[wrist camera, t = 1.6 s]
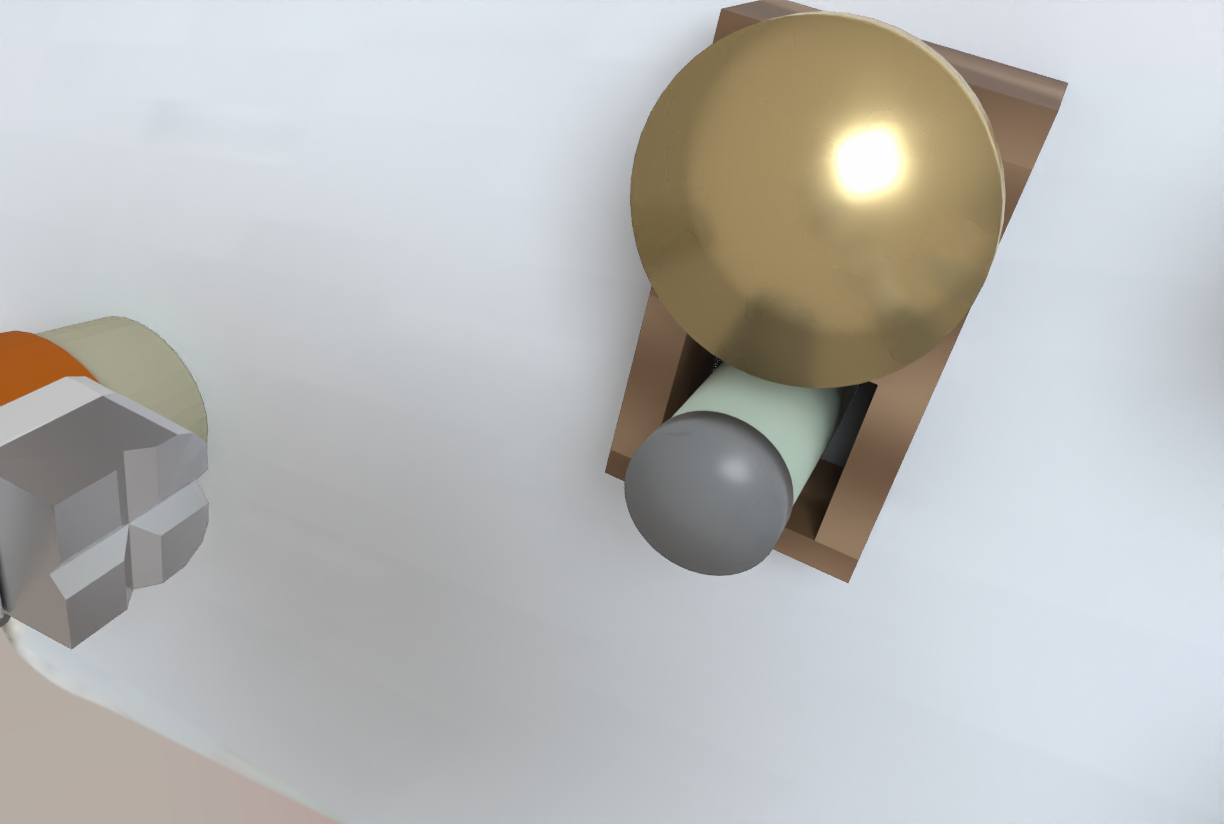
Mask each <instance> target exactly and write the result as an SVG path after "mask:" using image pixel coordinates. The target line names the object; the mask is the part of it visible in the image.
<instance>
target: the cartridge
mask: <svg viewBox="0 0 1224 824" xmlns="http://www.w3.org/2000/svg"><path fill="white" fill-rule="evenodd" d="M858 386H859V384H856V385H850V386H843V387H837V388H806V387H795V386H789V385H784V384H779V383H774V382H770V381H767V380H764V379H761V378H758V377H755V376H752V375H749V374H747V373H745V372H743V371H741V370H739V369H737V368H735V367H733V366H731V365H729V364H727V363H725V362H724V361H723V362H722V363H721V364H720V365H719V366H718V367H717V368H716V369H715V370H714V372H713V373H712V374H711V375H710V376H709V377H708V378H707V379H706V380H705V381H704V382H703V384H702V385H701V386H700V387H699V388H698V389H697V390H696V391H695V392H694V393H693V395H692V396H691V397H690V398H689V399H688V400H687V401H686V402H685V403H684V404H683V406H682V407H681V408H680V409H679V410H678V411H677V412H676V413H675V414H674V415H673V416H672V418H670V419H668V420H667V421H666V422H664V423H663V424H661V425H660V426H659V427H658V428H657V429H656V430H655V431H654V432H653V433H652V434H651V435H650V436H649V438H648V439H647V440H646V441H645V442H644V443H643V444H642V445H641V446H640V447H639V448H638V450H637V451H636V452H635V454H634V455H633V457H632V459H631V461H630V462H629V465H628V468H627V471H626V476H625V498H626V503H627V507H628V510H629V513H630V515H631V518H632V520H633V522H634V524H635V526H636V527H637V529H638V530H639V532H640V533H641V535H642V536H643V537H644V538H645V540H646V541H647V542H648V543H649V544H650V545H651V546H652V547H653V548H654V549H655V550H656V551H657V552H659V553H660V554H661V555H662V556H664V557H665V558H667V559H668V560H670V561H671V562H673V563H675V564H677V565H678V566H680V567H683V568H685V569H688V570H690V571H693V572H697V573H701V574H706V575H716V576H723V575H732V574H738V573H741V572H744V571H747V570H749V569H751V568H753V567H755V566H756V565H757V564H759V563H760V562H762V561H763V560H764V559H765V558H766V557H767V556H768V555H769V553H770V552H771V550H772V549H773V548H774V546H775V544H776V542H777V541H778V539H779V537H780V535H781V533H782V532H783V530H784V528H785V526H786V524H787V522H788V520H789V518H790V515H791V512H792V508H793V505H794V503H795V501H796V500H797V498H798V496H799V494H800V492H801V491H802V489H803V487H804V485H805V484H806V482H807V480H808V478H809V477H810V475H811V473H812V471H813V470H814V468H815V466H816V464H817V463H818V461H819V459H820V457H821V455H822V454H823V452H824V450H825V448H826V447H827V445H828V443H829V441H830V440H831V438H832V436H833V434H834V433H835V431H836V429H837V427H838V426H839V424H840V422H841V420H842V418H843V417H844V415H845V413H846V411H847V410H848V408H849V406H850V404H851V403H852V401H853V399H854V397H855V395H856V392H857V389H858Z"/></svg>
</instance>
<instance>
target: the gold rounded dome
mask: <svg viewBox="0 0 1224 824" xmlns="http://www.w3.org/2000/svg"><path fill="white" fill-rule="evenodd" d="M1005 197H1006V194H1005V179H1004V168H1003V163H1002V159H1001V154H1000V149H999V145H998V142H997V139H996V136H995V133H994V131H993V128H992V125H991V123H990V120H989V118H988V116H987V114H986V112H985V110H984V109H983V107H982V105H981V103H980V101H979V99H978V97H977V96H976V94H975V93H974V92H973V90H972V89H971V88H970V86H969V85H968V84H967V82H966V81H965V80H964V78H963V77H962V76H961V74H960V73H959V72H958V71H957V70H956V69H955V68H954V67H953V66H952V65H951V64H950V63H949V62H948V61H947V60H946V59H945V58H944V57H943V56H942V55H940V54H939V53H938V52H936V51H935V50H934V49H932V48H931V47H930V46H928V45H927V44H926V43H924V42H923V41H922V40H920V39H918V38H916V37H914V36H913V35H911V34H909V33H907V32H905V31H903V30H902V29H900V28H898V27H895V26H893V25H890V24H887V23H885V22H882V21H879V20H876V19H874V18H869V17H865V16H860V15H855V14H851V13H842V12H827V11H819V12H805V13H795V14H791V15H786V16H782V17H777V18H773V19H769V20H766V21H762V22H759V23H756V24H754V25H751V26H748V27H745V28H743V29H740V30H737V31H735V32H733V33H732V34H730V35H728V36H726V37H724V38H722V39H720V40H719V41H717V42H715V43H713V44H712V45H711V46H709V47H708V48H707V49H705V50H704V51H702V52H701V53H700V54H698V55H697V56H696V57H694V58H693V59H692V60H691V61H690V62H689V63H688V64H687V65H686V66H685V67H684V68H683V69H682V70H681V71H680V72H679V73H678V74H677V75H676V76H675V78H674V79H673V80H672V81H671V83H670V84H669V85H668V86H667V88H666V89H665V90H664V91H663V93H662V94H661V96H660V98H659V99H658V101H657V103H656V104H655V106H654V108H653V109H652V111H651V113H650V115H649V117H648V120H647V122H646V124H645V127H644V129H643V131H642V133H641V136H640V140H639V143H638V147H637V150H636V154H635V158H634V164H633V170H632V176H631V194H630V206H631V217H632V226H633V231H634V236H635V241H636V246H637V249H638V252H639V255H640V258H641V261H642V264H643V267H644V269H645V272H646V274H647V276H648V278H649V280H650V282H651V285H652V287H653V289H654V290H655V292H656V293H657V295H658V297H659V298H660V300H661V302H662V303H663V305H664V306H665V308H666V309H667V310H668V312H669V313H670V314H671V315H672V317H673V318H674V319H675V320H676V322H677V323H678V324H679V325H680V326H681V327H682V328H683V329H684V330H685V331H686V332H687V333H688V334H689V335H690V336H691V337H692V338H693V339H694V340H695V341H696V342H697V343H699V344H700V345H701V346H702V347H704V348H705V349H706V350H707V351H709V352H710V353H711V354H713V355H714V356H716V357H718V358H719V359H721V360H722V361H724V362H725V363H727V364H729V365H731V366H733V367H735V368H737V369H739V370H741V371H743V372H745V373H747V374H749V375H752V376H755V377H758V378H761V379H764V380H767V381H770V382H774V383H779V384H784V385H789V386H795V387H806V388H837V387H843V386H850V385H856V384H861V383H864V382H868V381H871V380H875V379H878V378H882V377H884V376H886V375H889V374H891V373H893V372H895V371H898V370H900V369H902V368H904V367H906V366H907V365H909V364H911V363H912V362H914V361H916V360H917V359H919V358H921V357H922V356H924V355H925V354H926V353H928V352H929V351H930V350H931V349H933V348H934V347H935V346H936V345H938V344H939V343H940V342H941V341H942V340H943V339H944V338H945V337H946V336H947V335H948V334H949V333H950V332H951V331H952V330H953V329H954V328H955V327H956V326H957V325H958V324H959V322H960V321H961V320H962V318H963V317H964V315H965V314H966V313H967V311H968V310H969V309H970V307H971V306H972V304H973V303H974V301H975V299H976V297H977V295H978V294H979V292H980V290H981V288H982V286H983V284H984V282H985V280H986V278H987V275H988V272H989V270H990V267H991V264H992V262H993V259H994V256H995V253H996V251H997V248H998V245H999V241H1000V236H1001V231H1002V227H1003V222H1004V211H1005Z"/></svg>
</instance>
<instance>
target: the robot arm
mask: <svg viewBox="0 0 1224 824" xmlns="http://www.w3.org/2000/svg"><path fill="white" fill-rule="evenodd" d="M207 469H208V461H207V446H206V442H205V441H204V440H202V439H201V438H200V437H198V436H197V435H196V434H194V433H193V432H191V431H189V430H187V429H185V428H183V427H181V426H180V425H178V424H176V423H174V422H172V421H170V420H168V419H166V418H165V417H163V416H161V415H159V414H157V413H155V412H153V411H151V410H150V409H148V408H146V407H144V406H142V405H140V404H138V403H136V402H135V401H133V400H131V399H129V398H127V397H125V396H123V395H120V394H118V393H116V392H114V391H112V390H110V389H108V388H106V387H105V386H103V385H101V384H99V383H97V382H95V381H93V380H91V379H90V378H88V377H86V376H79V377H64V378H62V379H60V380H58V381H55V382H53V383H51V384H49V385H47V386H44V387H42V388H40V389H38V390H36V391H33V392H31V393H29V394H27V395H25V396H23V397H20V398H18V399H16V400H14V401H12V402H9V403H7V404H5V405H3V406H1V407H0V618H2V617H3V616H4V615H3V612H4V613H6V614H8V615H9V616H11V617H13V618H15V619H17V620H19V621H20V622H22V623H24V624H26V625H28V626H30V627H31V628H33V629H35V630H37V631H39V632H41V633H42V634H44V635H46V636H48V637H50V638H52V639H53V640H55V641H57V642H59V643H61V644H63V645H64V646H66V647H68V648H70V649H73V648H74V647H75V646H77V645H78V644H80V643H81V642H82V641H84V640H85V639H87V638H88V637H89V636H91V635H92V634H93V633H95V632H96V631H98V630H99V629H100V628H102V627H103V626H104V625H106V624H107V623H109V622H110V621H111V620H113V619H114V618H116V617H117V616H118V615H120V614H121V613H122V612H124V611H125V610H127V608H128V605H129V601H130V598H131V595H132V591H133V589H137V588H142V587H147V586H152V585H156V584H161V583H163V582H165V581H166V580H167V579H169V578H170V577H171V576H173V575H174V574H175V573H177V572H178V571H179V570H180V569H182V568H183V567H184V566H185V565H186V564H187V562H188V561H189V560H190V558H191V557H192V556H193V554H194V553H195V551H196V550H197V549H198V547H199V546H200V544H201V543H202V541H203V538H204V534H205V531H206V528H207V525H208V501H207V499H206V497H205V495H204V493H203V491H202V489H201V488H200V486H199V484H198V482H197V479H198V478H199V477H200V476H201V475H202V474H203V473H204V472H205V471H206V470H207Z"/></svg>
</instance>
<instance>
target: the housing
mask: <svg viewBox="0 0 1224 824" xmlns="http://www.w3.org/2000/svg"><path fill="white" fill-rule="evenodd" d="M819 11H822V10H818V9H815V8H811V7H808V6H805V5H801V4H798V3H794V2H791V1H788V0H759V1H754V2H750V3H745V4H741V5H736V6H732V7H727V8H723V9H721V12H720V16H719V20H718V24H717V28H716V32H715V36H714V40H713V43H715V42H717V41H719V40H720V39H722V38H724V37H726V36H728V35H730V34H732V33H733V32H735V31H737V30H740V29H743V28H745V27H748V26H751V25H754V24H756V23H759V22H762V21H766V20H769V19H773V18H777V17H782V16H786V15H791V14H795V13H805V12H819ZM922 41H923V42H924V43H926V44H927V45H928V46H930V47H931V48H932V49H934V50H935V51H936V52H938V53H939V54H940V55H942V56H943V57H944V58H945V59H946V60H947V61H948V62H949V63H950V64H951V65H952V66H953V67H954V68H955V69H956V70H957V71H958V72H959V73H960V74H961V76H962V77H963V78H964V80H965V81H966V82H967V84H968V85H969V86H970V88H971V89H972V90H973V92H974V93H975V94H976V96H977V97H978V99H979V101H980V103H981V105H982V107H983V109H984V110H985V112H986V114H987V116H988V118H989V120H990V123H991V125H992V128H993V131H994V133H995V136H996V139H997V142H998V145H999V149H1000V154H1001V159H1002V163H1003V168H1004V179H1005V194H1006V197H1005V211H1004V222H1003V227H1002V231H1001V236H1000V241H1001V239H1002V236H1003V234H1004V232H1005V230H1006V227H1007V225H1008V223H1009V221H1010V218H1011V216H1012V214H1013V212H1014V209H1015V207H1016V205H1017V203H1018V200H1019V198H1020V196H1021V194H1022V191H1023V189H1024V187H1025V185H1026V182H1027V180H1028V178H1029V176H1030V173H1031V171H1032V169H1033V167H1034V164H1035V162H1036V160H1037V158H1038V155H1039V153H1040V151H1041V149H1042V146H1043V144H1044V142H1045V140H1046V137H1047V135H1048V133H1049V131H1050V128H1051V126H1052V124H1053V122H1054V119H1055V117H1056V115H1057V113H1058V110H1059V107H1060V105H1061V102H1062V99H1063V96H1064V93H1065V90H1066V88H1067V85H1068V83H1066V82H1063V81H1060V80H1056V79H1053V78H1049V77H1046V76H1043V75H1039V74H1036V73H1032V72H1029V71H1026V70H1022V69H1019V68H1015V67H1012V66H1009V65H1005V64H1002V63H998V62H995V61H992V60H988V59H985V58H981V57H978V56H975V55H971V54H968V53H964V52H961V51H958V50H954V49H951V48H947V47H944V46H941V45H937V44H934V43H930V42H927V41H924V40H922ZM1000 241H999V243H1000ZM970 308H971V307H970ZM969 310H970V309H969ZM969 310H968V311H967V313H966V314H965V315H964V317H963V318H962V320H961V321H960V322H959V324H958V325H957V326H956V327H955V328H954V329H953V330H952V331H951V332H950V333H949V334H948V335H947V336H946V337H945V338H944V339H943V340H942V341H941V342H940V343H939V344H938V345H936V346H935V347H934V348H933V349H931V350H930V351H929V352H928V353H926V354H925V355H924V356H922V357H921V358H919V359H917V360H916V361H914V362H912V363H911V364H909V365H907V366H906V367H904V368H902V369H900V370H898V371H895V372H893V373H891V374H889V375H886V376H884V377H882V378H878V379H875V380H871V381H870V382H872V383H875V384H877V385H878V386H877V389H876V391H875V394H874V396H873V399H872V401H871V404H870V406H869V408H868V411H867V413H866V416H865V418H864V421H863V423H862V426H861V428H860V430H859V433H858V435H857V438H856V440H855V443H854V445H853V448H852V450H851V453H850V455H849V457H848V460H847V462H846V465H845V467H844V468H842V467H839V466H837V465H835V464H832V463H830V462H828V461H825V460H823V459H819V461H818V463H817V464H816V466H815V468H814V470H813V471H812V473H811V475H810V477H809V478H808V480H807V482H806V484H805V485H804V487H803V489H802V491H801V492H800V494H799V496H798V498H797V500H796V501H795V503H794V505H793V508H792V512H791V515H790V518H789V520H788V522H787V524H786V526H785V528H784V530H783V532H782V533H781V535H780V537H779V539H778V541H777V542H776V544H775V546H774V548H773V549H774V550H776V551H778V552H781V553H783V554H785V555H787V556H789V557H792V558H794V559H796V560H798V561H800V562H803V563H805V564H807V565H809V566H811V567H814V568H816V569H818V570H820V571H822V572H825V573H827V574H829V575H831V576H833V577H836V578H838V579H840V580H842V581H844V582H846V583H848V582H849V580H850V578H851V576H852V573H853V571H854V569H855V567H856V564H857V562H858V560H859V558H860V555H861V553H862V551H863V549H864V546H865V544H866V542H867V540H868V537H869V535H870V533H871V531H872V528H873V526H874V524H875V522H876V520H877V517H878V515H879V513H880V511H881V508H882V506H883V504H884V502H885V499H886V497H887V495H888V493H889V490H890V488H891V486H892V484H893V481H894V479H895V477H896V475H897V472H898V470H899V468H900V466H901V463H902V461H903V459H904V457H905V454H906V452H907V450H908V448H909V445H910V443H911V441H912V439H913V436H914V434H915V432H916V430H917V427H918V425H919V423H920V421H921V418H922V416H923V414H924V412H925V409H926V407H927V405H928V403H929V400H930V398H931V396H932V394H933V391H934V389H935V387H936V385H937V382H938V380H939V378H940V376H941V373H942V371H943V369H944V367H945V364H946V362H947V360H948V358H949V355H950V353H951V351H952V349H953V346H954V344H955V342H956V340H957V337H958V335H959V333H960V331H961V328H962V326H963V324H964V322H965V319H966V317H967V315H968V313H969ZM715 359H716V356H714V355H713V354H711V353H710V352H709V351H707V350H706V349H705V348H704V347H702V346H701V345H700V344H699V343H697V342H696V341H695V340H694V339H693V338H692V337H691V336H690V335H689V334H688V333H687V332H686V331H685V330H684V329H683V328H682V327H681V326H680V325H679V324H678V323H677V322H676V320H675V319H674V318H673V317H672V315H671V314H670V313H669V312H668V310H667V309H666V308H665V306H664V305H663V303H662V302H661V300H660V298H659V297H658V295H657V293H656V292H655V290H654V289H653V287H651V291H650V295H649V299H648V303H647V307H646V311H645V315H644V319H643V323H642V327H641V331H640V335H639V339H638V343H637V347H636V351H635V355H634V359H633V363H632V367H631V371H630V375H629V379H628V383H627V387H626V391H625V395H624V399H623V403H622V407H621V411H620V415H619V419H618V422H617V426H616V430H615V434H614V438H613V442H612V446H611V450H610V454H609V458H608V462H607V466H606V470H605V473H607V474H610V475H612V476H614V477H616V478H618V479H620V480H623V481H625V476H626V471H627V468H628V465H629V462H630V461H631V459H632V457H633V455H634V454H635V452H636V451H637V450H638V448H639V447H640V446H641V445H642V444H643V443H644V442H645V441H646V440H647V439H648V438H649V436H650V435H651V434H652V433H653V432H654V431H655V430H656V429H657V428H658V427H659V426H660V425H661V424H663V423H664V422H666V421H667V420H668V419H670V418H672V416H673V415H674V414H675V413H676V412H677V411H678V410H679V409H680V408H681V407H682V406H683V404H684V403H685V402H686V401H687V400H688V399H689V398H690V397H691V396H692V395H693V393H694V392H695V391H696V390H697V389H698V388H699V387H700V386H701V385H702V384H703V382H704V381H705V380H706V379H707V378H708V377H709V376H710V375H711V372H712V369H713V366H714V362H715Z"/></svg>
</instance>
